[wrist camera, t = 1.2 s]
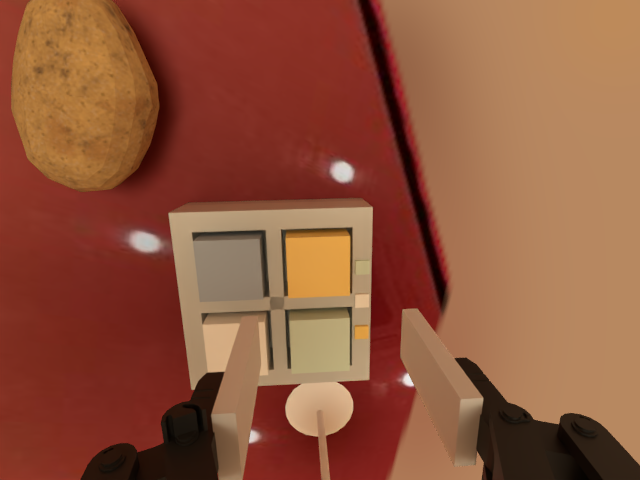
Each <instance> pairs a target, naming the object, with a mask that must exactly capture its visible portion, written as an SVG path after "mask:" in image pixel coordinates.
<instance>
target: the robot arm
mask: <svg viewBox="0 0 640 480" xmlns="http://www.w3.org/2000/svg"><path fill="white" fill-rule="evenodd" d="M400 357H401V359H402V361H403V363H404V366H405V368H406V370H407V372H408V374H409V376H410V378H411V380H412V382H413V384H414V386H415V388H416V390H417V392H418V394H419V396H420V398H421V400H422V402H423V404H424V406H425V408H426V410H427V412H428V414H429V416H430V418H431V420H432V423H433V425H434V427H435V428H436V431H437V433H438V435H439V437H440V439H441V441H442V443H443V445H444V447H445V449H446V451H447V453H448V455H449V457H450V459H451V461H452V463H453V465H454V466H468V465H475V464H476V456H477V451H478V453H479V455H480V456H481V458H482V460H483V462H484V467H483V475H482V480H640V465H639V464H638V463H637V462H636V461H635V460H634V459H633V458H632V457H631V455H630V454H629V453H628V452H627V451H626V450H625V449H624V448H623V447H622V446H621V445H620V443H619V442H618V441H617V440H616V439H615V438H614V437H613V436H612V435H611V434H610V433H609V432H608V430H607V429H605V428H604V427H603V426H602V425H601V424H600V423H598V422H597V421H595V420H593V419H591V418H589V417H586V416H584V415H581V414H574V413H569V414H564V415H563V416H561V418H560V423H559V424H553V423H547V422H541V421H537V420H534V419H533V418H532V416H531V415H530V414H529V413H528V412H527V411H526V410H525V409H523V408H521V407H519V406H517V405H514V404H511V403H508V402H507V401H506V400H505V399H504V398H503V396H502V395H501V394H500V392H499V391H498V390H497V389H496V388H495V386H494V385H493V384H492V383H491V382H490V381H489V379H488V378H487V377H486V375H484V374H483V372H482V371H481V369H480V368H479V367H478V366H477V365H476V364H475V363H473V362H472V361H470V360H469V359H467V358H453V356H452V355H451V354H450V352H449V351H448V350H447V349H446V347H445V345H444V344H443V343H442V341H441V340H440V339H439V337H438V336H437V335H436V333H435V332H434V331H433V329H432V328H431V326H430V325H429V324H428V322H427V321H426V320H425V318H424V317H423V316H422V314H421V313H420V312H419V310H418V309H402V331H401V353H400ZM260 369H261V354H260V340H259V325H258V316H245V317H242V319H241V322H240V325H239V329H238V332H237V335H236V338H235V341H234V344H233V347H232V351H231V354H230V357H229V360H228V363H227V366H226V369H225V372H209V373H206V374H205V375H204V376H203V377H202V378H201V379H200V380H199V381H198V383H197V385H196V387H195V390H194V392H193V395H192V397H191V400H190V401H187V402H182V403H179V404H177V405H174V406H173V407H171V408H170V409H169V410H167V411H166V413H165V414H164V415H163V416H162V420H161V426H162V432H163V439H164V443H162V444H161V445H158V446H156V447H153V448H150V449H147V450H144V451H141V452H138V453H137V450H136V448H135V447H134V446H133V445H131V444H128V443H120V444H116V445H113V446H110V447H108V448H106V449H104V450H102V451H101V452H99V453H98V454H97V455H96V456H95V457H93V459H92V460H91V461H90V463H89V464H88V466H87V468H86V470H85V472H84V474H83V476H82V478H81V480H218V478H219V480H243V474H244V468H245V462H246V456H247V449H248V443H249V437H250V431H251V425H252V418H253V412H254V406H255V400H256V394H257V388H258V381H259V375H260ZM217 473H218V476H217Z"/></svg>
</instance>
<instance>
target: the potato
mask: <svg viewBox="0 0 640 480" xmlns="http://www.w3.org/2000/svg"><path fill="white" fill-rule="evenodd" d="M159 106H160V105H159V99H158V86H157V82H156V80H155V78H154V75H153V73H152V71H151V69H150V66H149V64H148V62H147V60H146V57H145V55H144V53H143V51H142V48H141V46H140V44H139V42H138V40H137V37H136V35H135V33H134V31H133V30H132V28H131V26H130V25H129V23H128V22H127V20H126V18H125V17H124V15H123V13H122V12H121V10H120V9H119V7H118V6H117V5H116V4H115V3H114V2H113V1H112V0H30V1H29V2H28V3H27V5H26V9H25V12H24V15H23V19H22V22H21V25H20V29H19V32H18V37H17V42H16V48H15V53H14V59H13V70H12V81H11V110H12V113H13V116H14V119H15V122H16V125H17V128H18V131H19V134H20V137H21V139H22V143H23V146H24V149H25V152H26V155H27V158H28V160H29V161H30V162H31V163H32V164H33V165H34V166H36V167H37V168H38V169H39V170H40V171H41V172H42V173H43V174H44V175H45V176H46V177H47V178H49V179H51V180H53V181H55V182H58V183H60V184H63V185H65V186H68V187H70V188H72V189H75V190H77V191H80V192H87V191H98V190H109V189H113V188H114V187H116V186H118V185H119V184H121V183H122V182H123V181H124V180H126V179H127V178H128V177H129V176H130V175H131V174H132V173H134V172H135V171H136V170H137V169H138V167H139V165H140V164H141V162H142V160H143V158H144V156H145V154H146V152H147V150H148V148H149V146H150V144H151V140H152V137H153V133H154V130H155V127H156V122H157V117H158V111H159Z"/></svg>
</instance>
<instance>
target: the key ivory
mask: <svg viewBox="0 0 640 480" xmlns="http://www.w3.org/2000/svg"><path fill="white" fill-rule="evenodd" d="M245 316H258V325H259V340H260V354H261V369H260V375H259V376H262V375H268V372H269V364H270V345H269V329H268V312H267V310H264V311H241V312H219V313H208V315H207V317H206V319H205V321H204V323H203V325H202V326H203V335H204V343H205V352H206V361H207V370H208V373H209V372H225V369H226V366H227V363H228V360H229V357H230V354H231V351H232V347H233V344H234V341H235V338H236V335H237V332H238V329H239V325H240V322H241V319H242V317H245Z"/></svg>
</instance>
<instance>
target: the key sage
mask: <svg viewBox="0 0 640 480" xmlns="http://www.w3.org/2000/svg"><path fill="white" fill-rule="evenodd" d="M289 326H290V349H291V371H292V374H299V373H317V372H335V371H350V317H349V314H348V310H347V307H331V308H308V309H290V315H289Z"/></svg>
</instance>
